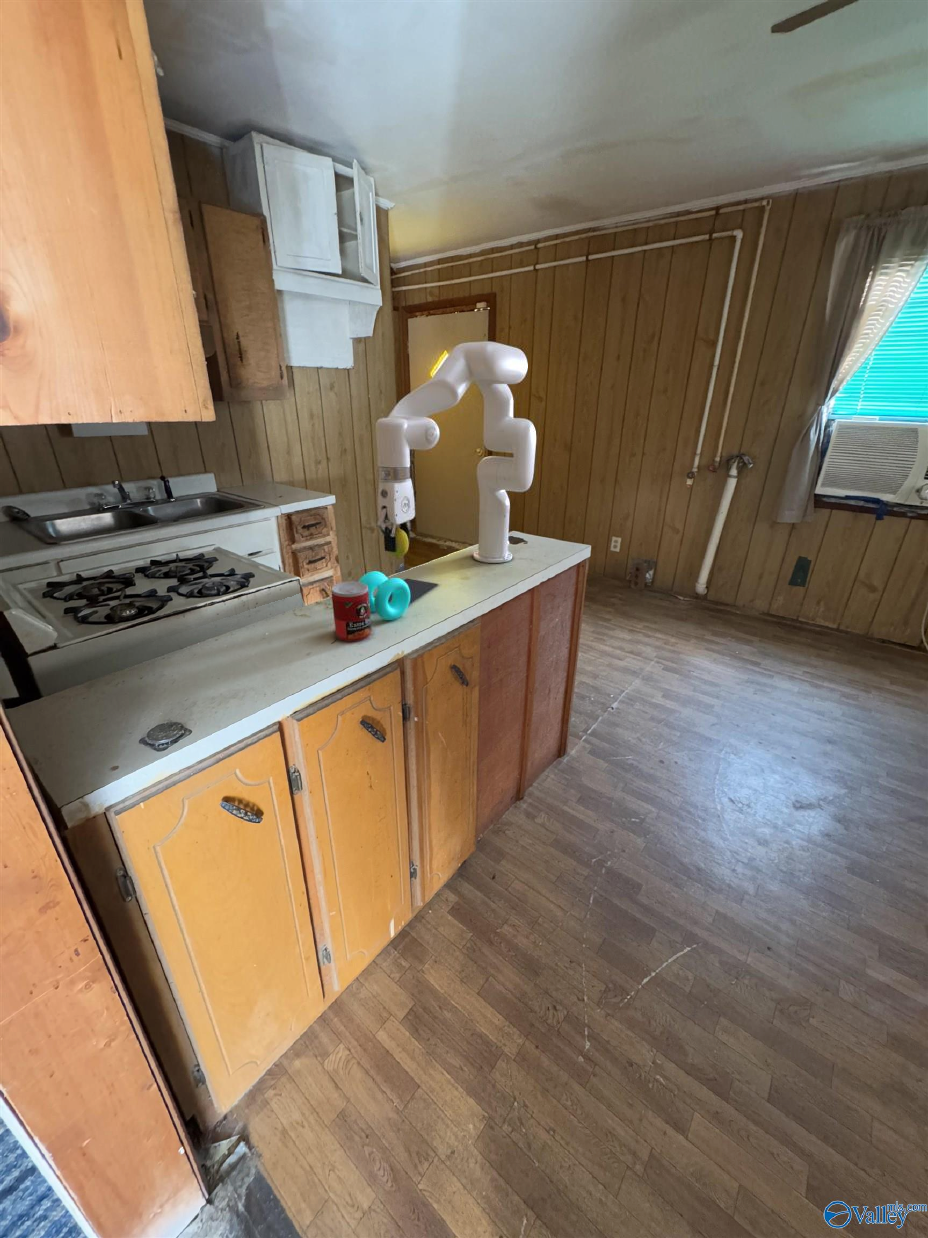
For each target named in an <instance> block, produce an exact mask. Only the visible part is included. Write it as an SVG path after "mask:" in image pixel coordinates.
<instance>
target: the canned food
mask: <svg viewBox="0 0 928 1238" xmlns="http://www.w3.org/2000/svg"><path fill="white" fill-rule="evenodd" d="M330 592H331V601H332V612H333V621H334V630H335V635H336V637H337V638H338V639H339V640H341V641H344V642H359V641H363V640H365V639H367V638H368V637H370V635H371V632H372V623H371V612H370V606H369V593H368V586H367V585H366V584H364V583H361V582H359V581H355V580H354V581H352V580H351V581H341V582H337V583H336V584H334V585H332V587H331V591H330Z"/></svg>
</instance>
